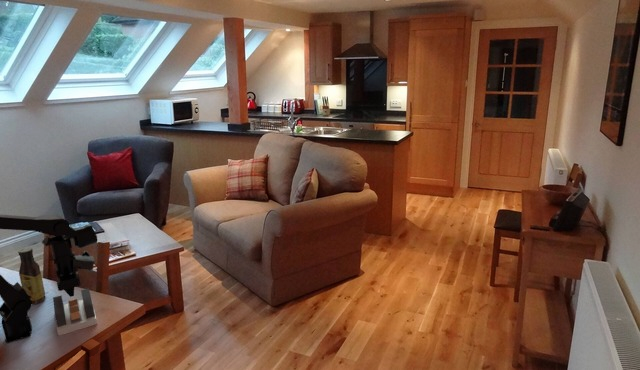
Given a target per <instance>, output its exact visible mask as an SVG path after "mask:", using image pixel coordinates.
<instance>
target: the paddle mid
mask: <svg viewBox="0 0 640 370" xmlns="http://www.w3.org/2000/svg"><path fill="white" fill-rule="evenodd" d="M69 309H70V313H74V312H77V311H79V306H78V305H74V306H71V307H69Z"/></svg>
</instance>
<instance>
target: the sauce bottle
mask: <svg viewBox="0 0 640 370" xmlns="http://www.w3.org/2000/svg"><path fill="white" fill-rule="evenodd" d="M33 253H34V250H33V248H32V247H30V246H27V247H23V248H20V249H18V255H19V258H20V265H19V270H18V275H19V280H20V285H21V286H22V287H23V289H25V290H26V291H27V292H28V293H29V294H30V295H31V296H32V298H30V299H31V301H32V305H37V304H40V303H41V302H43V301H44V300H45V299H46V290H45V287H44V286H45V285H44V281H43V277H42V272H41V269H40V265H39V263H38V262H37V261H36V260H35V258H34V254H33Z"/></svg>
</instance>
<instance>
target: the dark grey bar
mask: <svg viewBox="0 0 640 370" xmlns="http://www.w3.org/2000/svg"><path fill="white" fill-rule="evenodd" d="M52 300H53V311H54V319H55V322H56V323H57V324H56V328H57V327H60V326H64V325H66V319H65V311H64V305H65V304H64V301H63V296H62V295H58V296H54V297H52Z"/></svg>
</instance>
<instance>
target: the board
mask: <svg viewBox="0 0 640 370" xmlns="http://www.w3.org/2000/svg"><path fill="white" fill-rule="evenodd" d="M77 301H78V306H79V311H80V316H81V318H78V319H75V320H71V315H70V309H69V303H66V304H63V305H64V311H65V319H66V325H64V326H60V327H57V326H56V331H57V336H62V335H64V334H65V335H66V334H68V333H72V332H75V331H78V330H81V329H85V328H89V327H92V326H94V325H97V324H98V319H97V316H96V311H95V310H94V313H95V317H91V318H88V319H87V317H86V312H85V308H84V303H83V299H79V300H77ZM93 308H94V309H95V307H94V306H93ZM56 325H57V323H56Z"/></svg>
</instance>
